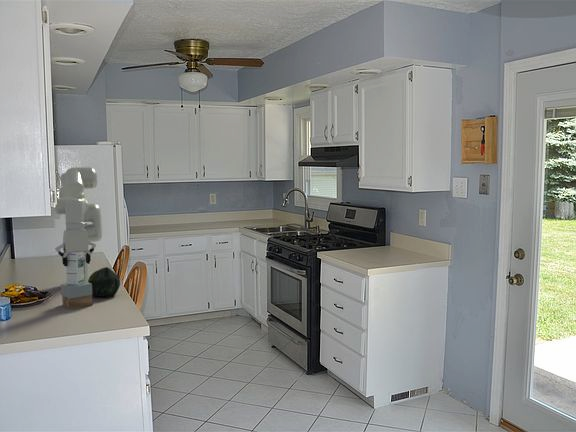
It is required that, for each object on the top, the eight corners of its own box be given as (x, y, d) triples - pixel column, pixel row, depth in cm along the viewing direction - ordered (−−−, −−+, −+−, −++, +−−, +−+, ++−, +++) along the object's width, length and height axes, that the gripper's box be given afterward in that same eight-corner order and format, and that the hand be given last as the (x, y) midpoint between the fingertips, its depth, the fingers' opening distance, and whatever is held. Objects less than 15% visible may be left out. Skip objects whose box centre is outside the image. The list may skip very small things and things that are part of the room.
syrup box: (77, 285, 233) (77, 252, 232) (65, 284, 234) (65, 251, 233) (85, 282, 239) (85, 250, 238) (73, 281, 240) (73, 250, 239)
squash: (87, 281, 261) (87, 262, 251) (119, 280, 266) (120, 261, 256) (87, 305, 252) (87, 287, 241) (120, 304, 257) (121, 285, 247)
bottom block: (62, 305, 238) (62, 294, 238) (85, 301, 245) (84, 291, 244) (69, 309, 231) (68, 298, 230) (92, 305, 237) (92, 294, 236)
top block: (61, 294, 237) (60, 283, 237) (83, 291, 244) (83, 280, 244) (69, 298, 230) (69, 287, 230) (92, 294, 237) (91, 283, 236)
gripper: (91, 224, 243) (93, 261, 244) (52, 227, 232) (54, 265, 234) (97, 225, 237) (99, 263, 239) (57, 228, 226) (59, 268, 228)
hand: (76, 264), depth 236 cm, fingers open, 9 cm apart
